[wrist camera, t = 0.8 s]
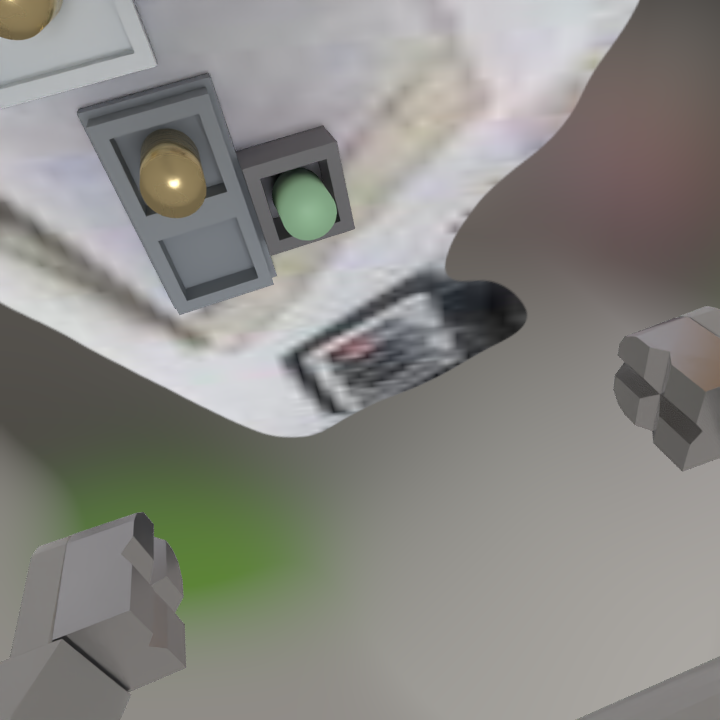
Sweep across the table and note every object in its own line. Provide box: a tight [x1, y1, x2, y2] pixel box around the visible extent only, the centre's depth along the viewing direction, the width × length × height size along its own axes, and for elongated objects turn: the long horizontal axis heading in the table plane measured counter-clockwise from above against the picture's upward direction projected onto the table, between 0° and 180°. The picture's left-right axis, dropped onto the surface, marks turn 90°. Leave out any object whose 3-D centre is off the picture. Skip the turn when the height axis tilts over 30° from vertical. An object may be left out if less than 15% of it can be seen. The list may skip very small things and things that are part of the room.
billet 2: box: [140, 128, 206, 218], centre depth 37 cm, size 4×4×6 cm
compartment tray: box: [77, 73, 277, 315], centre depth 41 cm, size 16×9×3 cm, turn 11°
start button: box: [272, 168, 337, 240], centre depth 41 cm, size 4×4×4 cm
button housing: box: [236, 126, 355, 256], centre depth 42 cm, size 7×7×4 cm
